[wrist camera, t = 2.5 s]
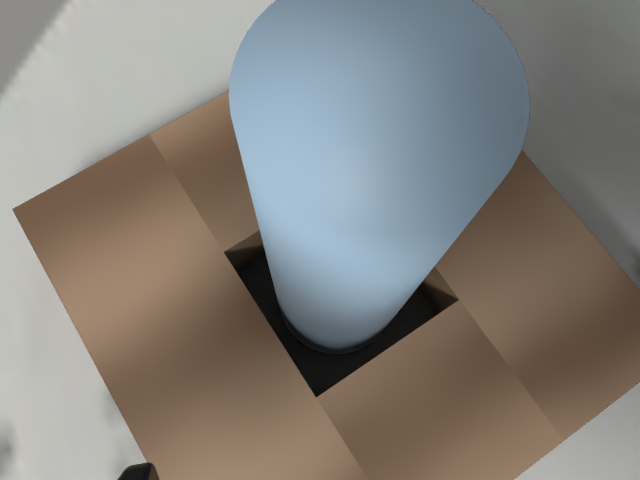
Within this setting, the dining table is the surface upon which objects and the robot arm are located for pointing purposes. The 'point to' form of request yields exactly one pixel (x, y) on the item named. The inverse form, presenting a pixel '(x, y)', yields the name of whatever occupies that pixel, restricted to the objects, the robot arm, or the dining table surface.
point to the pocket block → (272, 358)
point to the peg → (370, 149)
